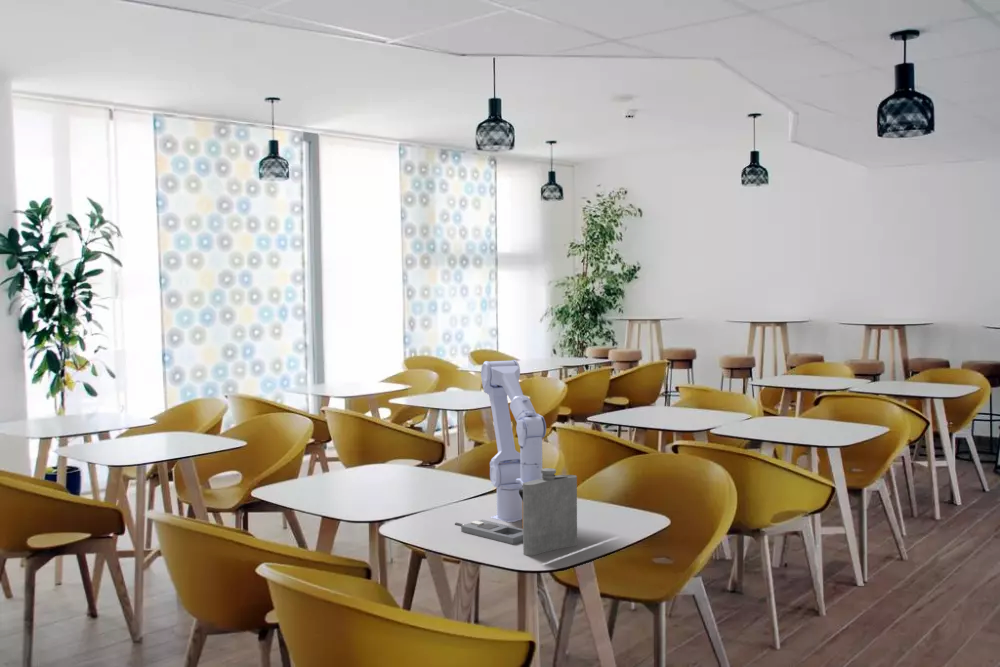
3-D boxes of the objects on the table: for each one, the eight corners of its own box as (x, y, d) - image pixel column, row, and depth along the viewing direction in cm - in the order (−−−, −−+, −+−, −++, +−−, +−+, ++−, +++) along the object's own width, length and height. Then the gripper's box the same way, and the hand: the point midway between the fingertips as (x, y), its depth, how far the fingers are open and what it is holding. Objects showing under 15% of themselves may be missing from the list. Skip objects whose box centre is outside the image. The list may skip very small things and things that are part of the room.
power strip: (466, 523, 243) (466, 514, 243) (533, 539, 227) (533, 529, 227) (445, 529, 237) (445, 520, 237) (512, 546, 221) (512, 536, 221)
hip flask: (528, 558, 211) (528, 474, 210) (518, 554, 214) (517, 472, 213) (579, 546, 220) (579, 466, 219) (569, 543, 224) (568, 463, 223)
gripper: (519, 457, 240) (520, 507, 240) (512, 467, 225) (512, 521, 226) (546, 457, 238) (546, 508, 239) (539, 468, 224) (540, 522, 225)
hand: (531, 514), depth 233 cm, fingers closed on plug, 4 cm apart
